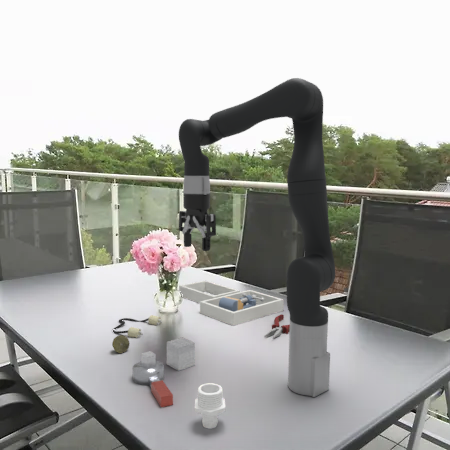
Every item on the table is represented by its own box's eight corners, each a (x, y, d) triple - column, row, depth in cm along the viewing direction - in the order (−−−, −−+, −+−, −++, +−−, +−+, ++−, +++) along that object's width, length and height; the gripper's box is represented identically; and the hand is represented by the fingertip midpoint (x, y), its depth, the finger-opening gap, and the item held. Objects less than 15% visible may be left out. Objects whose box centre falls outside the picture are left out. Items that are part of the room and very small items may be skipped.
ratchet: (183, 402, 105) (183, 375, 105) (150, 409, 102) (149, 382, 101) (159, 369, 123) (158, 345, 122) (129, 374, 119) (129, 350, 119)
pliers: (252, 337, 148) (252, 329, 148) (280, 319, 166) (280, 312, 166) (285, 345, 142) (286, 336, 142) (311, 326, 160) (311, 318, 159)
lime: (131, 349, 136) (130, 333, 135) (123, 355, 131) (123, 339, 131) (117, 347, 137) (117, 331, 137) (109, 354, 133) (109, 337, 132)
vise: (236, 321, 163) (236, 303, 162) (214, 315, 169) (214, 297, 169) (264, 309, 177) (265, 293, 176) (243, 304, 183) (243, 288, 182)
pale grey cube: (194, 365, 125) (194, 342, 125) (178, 371, 122) (178, 347, 121) (182, 359, 129) (182, 337, 129) (166, 364, 126) (166, 341, 125)
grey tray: (239, 301, 187) (240, 290, 187) (213, 308, 178) (213, 296, 177) (205, 290, 204) (205, 280, 203) (179, 295, 194) (179, 285, 194)
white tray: (283, 310, 175) (283, 299, 175) (233, 325, 158) (233, 313, 157) (249, 300, 189) (249, 289, 188) (199, 313, 171) (200, 301, 171)
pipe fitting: (224, 415, 100) (224, 380, 99) (225, 434, 93) (225, 396, 92) (195, 415, 100) (195, 380, 99) (194, 434, 93) (194, 397, 92)
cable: (97, 334, 149) (97, 324, 149) (124, 319, 165) (124, 310, 164) (139, 340, 144) (139, 330, 144) (163, 324, 160) (163, 315, 159)
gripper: (171, 191, 131) (171, 246, 133) (202, 193, 120) (201, 253, 122) (192, 190, 136) (192, 244, 138) (223, 192, 125) (222, 250, 127)
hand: (196, 248), depth 130 cm, fingers open, 8 cm apart
